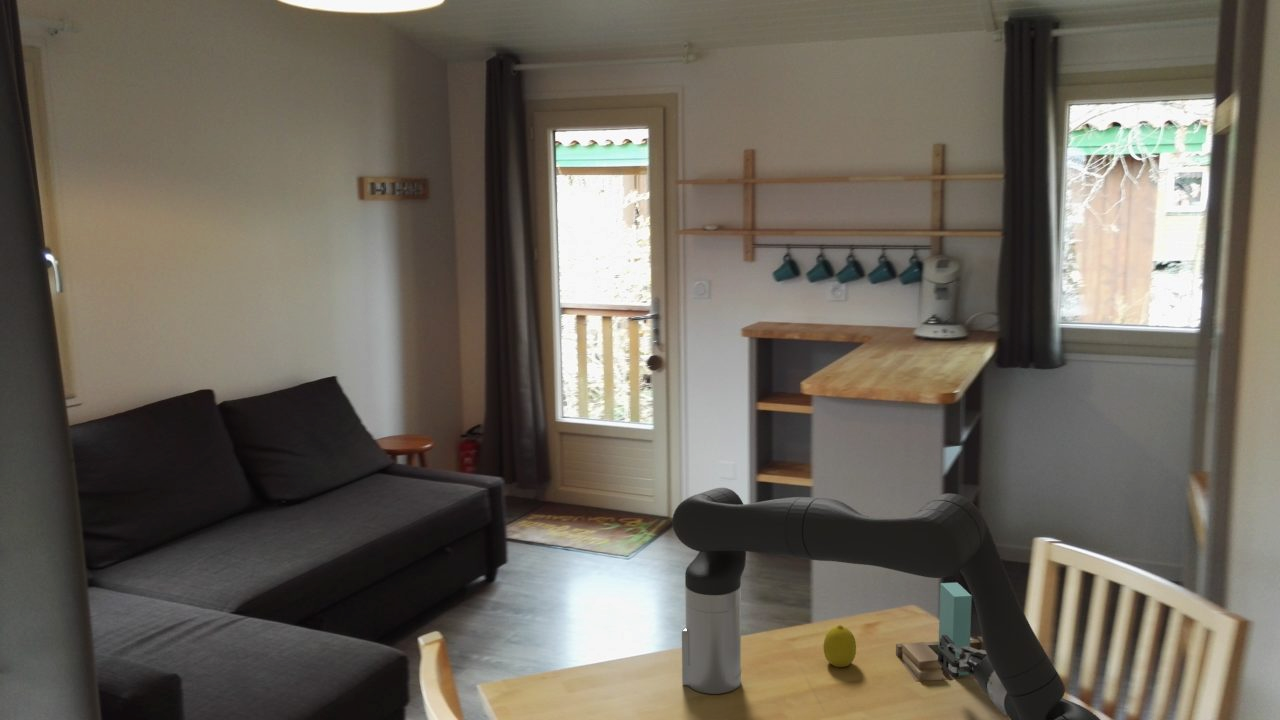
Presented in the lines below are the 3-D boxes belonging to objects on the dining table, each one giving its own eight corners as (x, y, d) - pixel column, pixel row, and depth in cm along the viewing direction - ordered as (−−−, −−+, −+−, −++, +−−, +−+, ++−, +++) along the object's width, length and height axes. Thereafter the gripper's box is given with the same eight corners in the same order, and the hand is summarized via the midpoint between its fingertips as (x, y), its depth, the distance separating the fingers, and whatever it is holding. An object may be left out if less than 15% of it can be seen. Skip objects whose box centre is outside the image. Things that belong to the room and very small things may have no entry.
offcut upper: (919, 670, 168) (919, 661, 168) (902, 652, 175) (902, 643, 174) (941, 668, 168) (942, 659, 168) (923, 650, 175) (923, 641, 175)
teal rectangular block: (951, 676, 169) (954, 596, 167) (938, 660, 175) (940, 583, 172) (968, 675, 169) (971, 595, 167) (954, 659, 175) (957, 582, 173)
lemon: (861, 667, 174) (862, 624, 173) (845, 679, 170) (846, 635, 169) (833, 658, 178) (833, 616, 177) (817, 670, 174) (817, 626, 173)
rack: (915, 686, 167) (916, 666, 167) (895, 659, 177) (896, 641, 177) (1008, 681, 169) (1009, 661, 168) (983, 654, 179) (984, 636, 178)
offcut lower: (918, 680, 167) (919, 672, 167) (902, 659, 175) (902, 651, 175) (942, 679, 168) (942, 671, 167) (924, 658, 175) (925, 650, 175)
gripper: (1060, 659, 149) (1011, 615, 165) (967, 664, 147) (927, 619, 163) (1058, 707, 150) (1009, 658, 166) (965, 712, 149) (925, 662, 165)
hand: (968, 639), depth 165 cm, fingers open, 8 cm apart
